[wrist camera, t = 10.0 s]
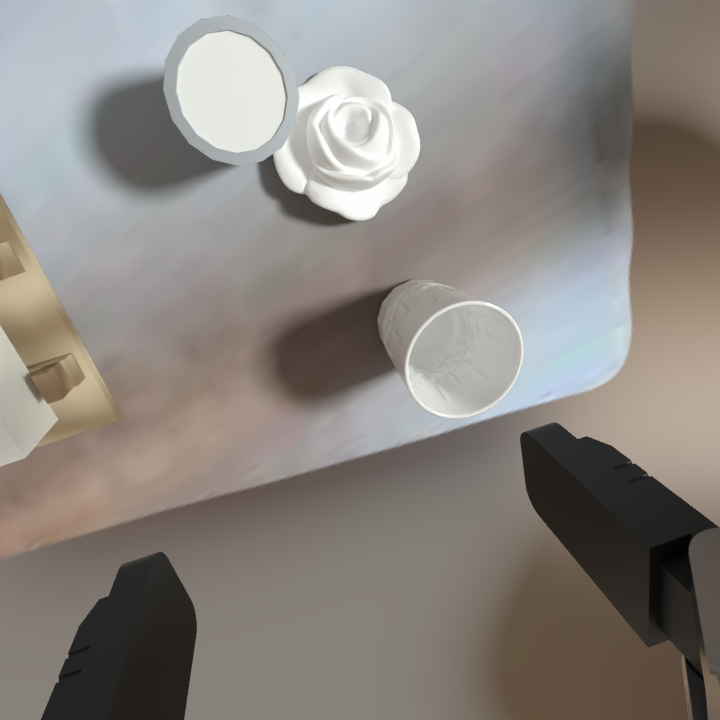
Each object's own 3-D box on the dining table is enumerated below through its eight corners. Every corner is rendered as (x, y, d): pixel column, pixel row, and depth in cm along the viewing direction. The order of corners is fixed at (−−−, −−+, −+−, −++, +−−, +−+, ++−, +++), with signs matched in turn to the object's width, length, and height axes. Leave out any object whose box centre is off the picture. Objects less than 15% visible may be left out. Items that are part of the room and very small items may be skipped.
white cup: (445, 254, 37) (506, 279, 27) (472, 339, 40) (536, 386, 31) (354, 296, 36) (386, 335, 27) (390, 378, 39) (428, 438, 30)
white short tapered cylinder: (293, 170, 32) (301, 167, 26) (189, 167, 31) (171, 163, 25) (290, 55, 30) (298, 20, 23) (177, 46, 28) (153, 7, 22)
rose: (308, 249, 30) (246, 86, 26) (302, 241, 34) (248, 99, 30) (448, 195, 31) (407, 28, 27) (426, 193, 35) (388, 48, 31)
